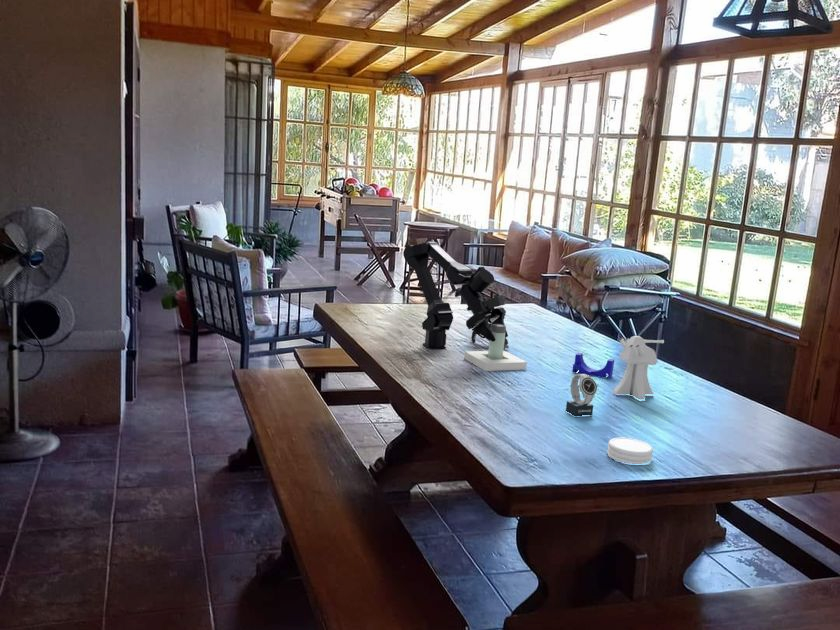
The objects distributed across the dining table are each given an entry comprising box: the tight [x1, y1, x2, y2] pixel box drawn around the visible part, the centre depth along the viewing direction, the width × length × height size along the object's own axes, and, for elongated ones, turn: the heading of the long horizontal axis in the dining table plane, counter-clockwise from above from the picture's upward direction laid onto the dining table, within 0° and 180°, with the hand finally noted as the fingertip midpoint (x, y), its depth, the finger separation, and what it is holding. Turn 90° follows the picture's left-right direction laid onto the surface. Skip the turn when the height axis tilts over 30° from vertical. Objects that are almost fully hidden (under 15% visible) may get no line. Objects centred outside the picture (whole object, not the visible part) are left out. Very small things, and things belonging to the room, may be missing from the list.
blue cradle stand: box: [571, 352, 615, 379], centre depth 250 cm, size 12×4×6 cm, turn 62°
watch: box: [565, 373, 598, 416], centre depth 206 cm, size 6×8×11 cm
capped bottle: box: [487, 323, 507, 360], centre depth 253 cm, size 5×5×13 cm
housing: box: [463, 350, 528, 372], centre depth 254 cm, size 15×15×2 cm
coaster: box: [606, 437, 654, 464], centre depth 177 cm, size 10×10×4 cm
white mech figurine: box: [612, 335, 665, 399], centre depth 229 cm, size 12×13×18 cm
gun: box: [471, 322, 510, 350], centre depth 280 cm, size 3×16×10 cm, turn 53°
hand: (500, 338), depth 252 cm, fingers open, 9 cm apart
